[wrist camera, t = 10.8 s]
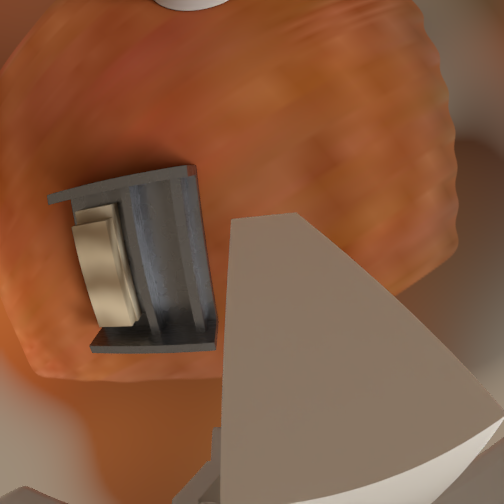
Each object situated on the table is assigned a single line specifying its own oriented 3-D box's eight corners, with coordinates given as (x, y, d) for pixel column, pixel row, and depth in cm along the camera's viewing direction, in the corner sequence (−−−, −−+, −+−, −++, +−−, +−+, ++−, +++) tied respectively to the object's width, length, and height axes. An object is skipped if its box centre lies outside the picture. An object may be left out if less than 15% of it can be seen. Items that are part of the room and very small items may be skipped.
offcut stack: (82, 209, 33) (67, 214, 29) (117, 202, 33) (103, 207, 29) (108, 315, 38) (98, 329, 34) (141, 314, 38) (133, 328, 34)
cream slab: (231, 219, 13) (220, 508, 2) (296, 212, 13) (507, 413, 2) (258, 422, 17) (275, 578, 6) (300, 416, 17) (338, 567, 6)
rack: (74, 188, 33) (46, 195, 27) (196, 165, 34) (186, 165, 27) (109, 327, 40) (92, 352, 33) (218, 321, 40) (216, 350, 34)
